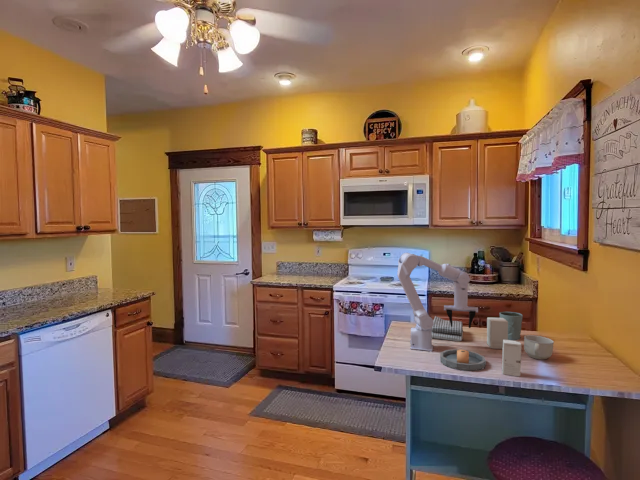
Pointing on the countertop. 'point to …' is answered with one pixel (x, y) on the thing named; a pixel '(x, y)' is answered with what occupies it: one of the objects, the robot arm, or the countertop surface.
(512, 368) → the skincare box
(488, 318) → the supplement box
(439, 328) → the towel
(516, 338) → the green plant pot
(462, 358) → the bead
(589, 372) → the countertop surface
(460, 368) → the groove tray
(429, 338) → the robot arm
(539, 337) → the teacup
